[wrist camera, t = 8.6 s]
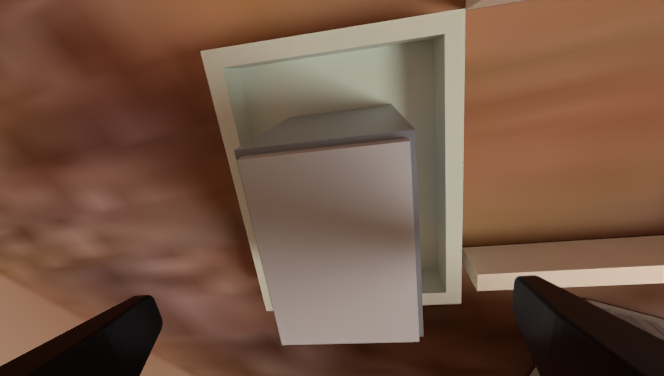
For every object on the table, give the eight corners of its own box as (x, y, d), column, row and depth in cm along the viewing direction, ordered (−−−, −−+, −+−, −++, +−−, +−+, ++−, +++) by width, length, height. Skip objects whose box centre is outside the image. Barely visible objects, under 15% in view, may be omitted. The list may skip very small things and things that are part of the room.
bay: (849, -82, 11) (976, -123, 9) (731, 247, 16) (794, 277, 14) (465, -17, 13) (488, -36, 11) (461, 262, 18) (476, 291, 15)
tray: (447, 19, 14) (465, 8, 11) (448, 273, 18) (461, 303, 16) (225, 54, 15) (199, 51, 13) (277, 282, 19) (266, 311, 17)
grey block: (391, 104, 14) (418, 132, 8) (399, 234, 17) (426, 346, 10) (289, 117, 15) (228, 153, 8) (311, 240, 17) (277, 349, 11)
